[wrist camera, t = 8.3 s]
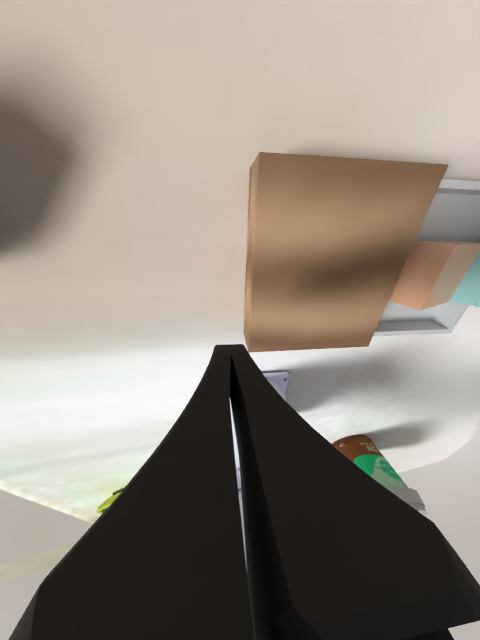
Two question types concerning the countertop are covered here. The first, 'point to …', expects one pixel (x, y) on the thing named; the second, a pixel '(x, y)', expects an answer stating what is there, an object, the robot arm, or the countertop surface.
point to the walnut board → (328, 246)
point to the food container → (378, 468)
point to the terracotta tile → (433, 273)
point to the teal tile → (469, 284)
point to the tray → (439, 224)
